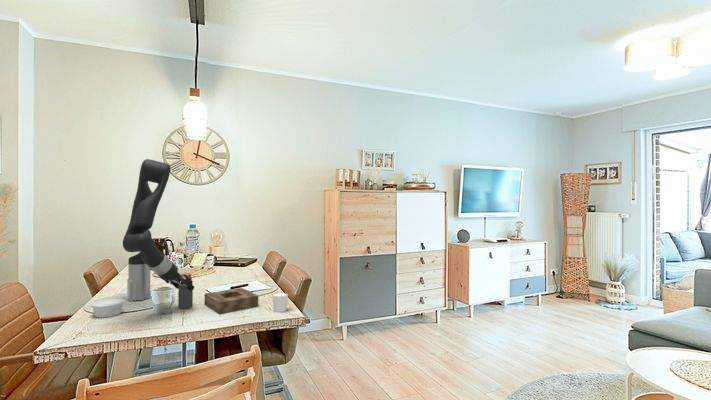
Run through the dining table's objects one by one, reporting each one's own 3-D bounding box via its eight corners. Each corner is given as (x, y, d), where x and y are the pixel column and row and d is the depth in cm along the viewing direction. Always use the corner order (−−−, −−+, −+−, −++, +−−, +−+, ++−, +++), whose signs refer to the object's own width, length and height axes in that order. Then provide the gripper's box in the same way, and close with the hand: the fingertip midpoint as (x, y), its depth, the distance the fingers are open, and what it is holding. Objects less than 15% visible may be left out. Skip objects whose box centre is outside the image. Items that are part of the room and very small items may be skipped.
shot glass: (290, 308, 168) (290, 293, 167) (282, 313, 161) (283, 297, 161) (277, 307, 170) (277, 291, 170) (269, 311, 163) (269, 295, 163)
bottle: (181, 305, 171) (181, 272, 170) (194, 305, 171) (194, 272, 171) (176, 309, 165) (176, 275, 165) (189, 309, 165) (190, 275, 165)
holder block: (219, 314, 159) (219, 302, 159) (204, 304, 172) (204, 293, 172) (258, 306, 171) (258, 295, 170) (241, 297, 184) (241, 287, 184)
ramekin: (89, 320, 150) (89, 307, 150) (94, 312, 160) (94, 300, 160) (122, 316, 155) (122, 303, 155) (124, 309, 165) (124, 297, 165)
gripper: (180, 261, 157) (202, 282, 167) (157, 258, 163) (179, 279, 173) (169, 276, 152) (192, 297, 163) (146, 273, 158) (169, 293, 169)
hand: (185, 288), depth 168 cm, fingers open, 8 cm apart
